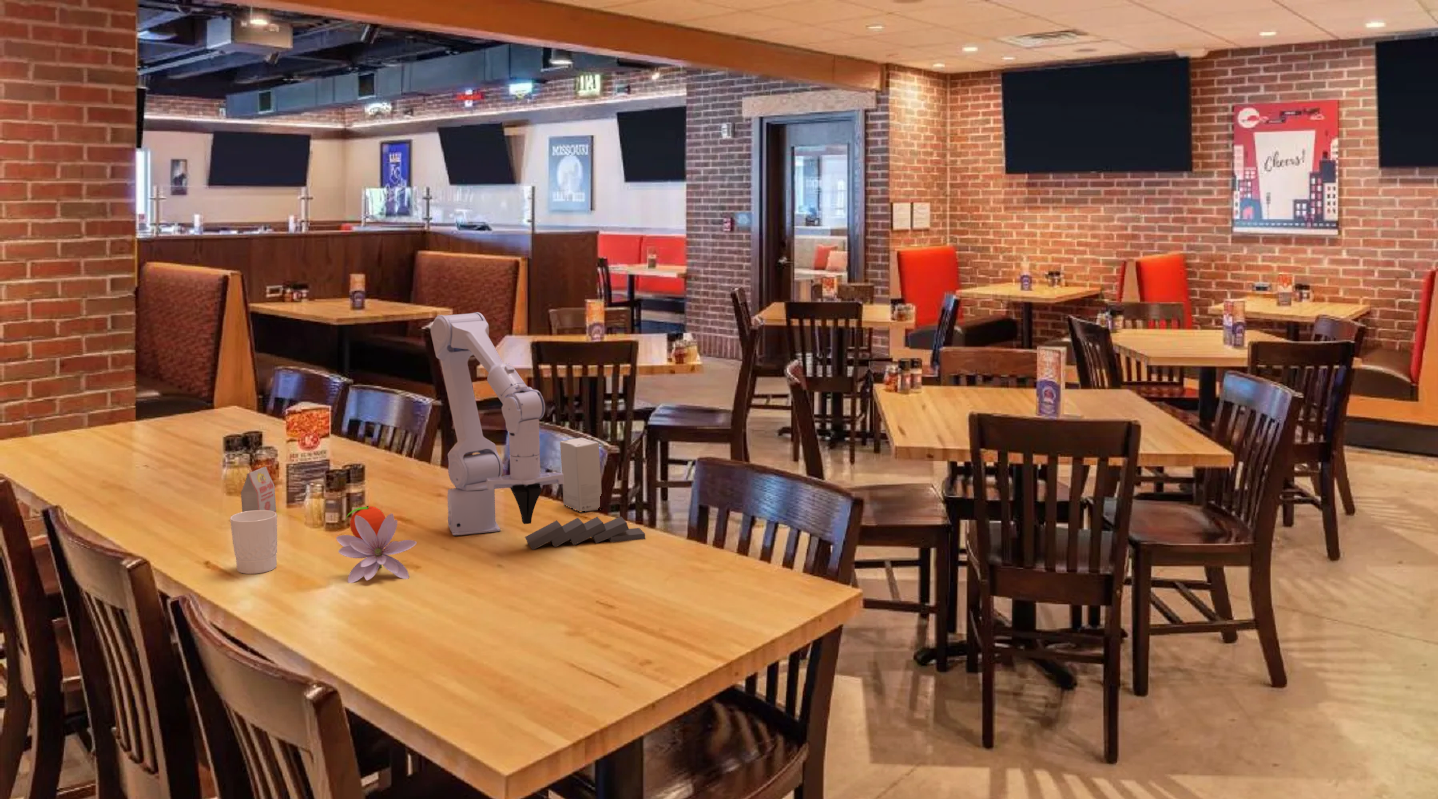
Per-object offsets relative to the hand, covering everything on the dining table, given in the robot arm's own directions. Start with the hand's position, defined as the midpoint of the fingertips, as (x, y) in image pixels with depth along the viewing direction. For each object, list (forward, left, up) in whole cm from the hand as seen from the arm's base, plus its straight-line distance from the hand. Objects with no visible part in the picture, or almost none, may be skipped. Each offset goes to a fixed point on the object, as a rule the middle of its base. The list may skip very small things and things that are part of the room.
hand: (526, 522), depth 227 cm
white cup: (-49, +4, -5) cm, 49 cm away
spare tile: (+8, 0, -4) cm, 9 cm away
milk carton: (-49, +42, -5) cm, 65 cm away
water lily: (-29, -8, -5) cm, 31 cm away
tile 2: (+5, 0, -4) cm, 6 cm away
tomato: (-29, +15, -5) cm, 33 cm away
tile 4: (+13, 0, -4) cm, 14 cm away
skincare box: (+17, +25, -5) cm, 31 cm away
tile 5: (+16, 0, -5) cm, 17 cm away
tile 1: (0, 0, -4) cm, 4 cm away
